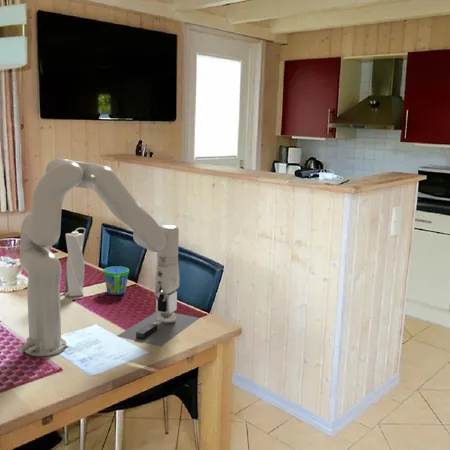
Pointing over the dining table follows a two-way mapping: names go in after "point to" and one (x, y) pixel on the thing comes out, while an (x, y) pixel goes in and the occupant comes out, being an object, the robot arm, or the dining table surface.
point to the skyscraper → (74, 264)
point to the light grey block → (169, 302)
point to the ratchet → (156, 325)
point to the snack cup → (116, 279)
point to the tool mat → (162, 333)
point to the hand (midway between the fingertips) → (166, 308)
